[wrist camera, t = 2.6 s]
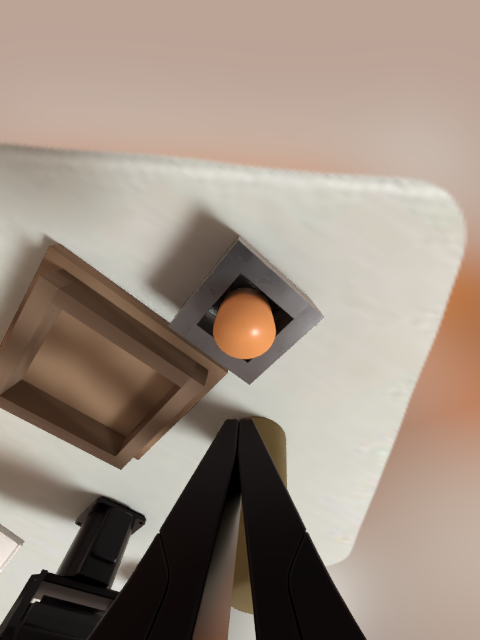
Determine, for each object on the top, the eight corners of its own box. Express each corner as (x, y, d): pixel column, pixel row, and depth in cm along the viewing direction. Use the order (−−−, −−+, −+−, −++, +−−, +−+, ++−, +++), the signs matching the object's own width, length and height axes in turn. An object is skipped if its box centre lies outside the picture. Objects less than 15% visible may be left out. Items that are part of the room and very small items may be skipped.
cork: (214, 426, 23) (188, 590, 13) (275, 410, 22) (297, 575, 12) (237, 465, 25) (230, 633, 15) (293, 453, 24) (325, 623, 14)
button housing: (249, 361, 20) (249, 384, 17) (180, 309, 18) (168, 326, 15) (312, 300, 18) (324, 317, 15) (239, 235, 16) (238, 239, 13)
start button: (247, 344, 18) (247, 369, 15) (208, 315, 17) (200, 334, 14) (282, 310, 16) (288, 330, 14) (242, 276, 15) (240, 289, 13)
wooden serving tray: (142, 450, 25) (129, 480, 22) (-5, 370, 21) (-42, 393, 18) (228, 365, 20) (225, 389, 17) (60, 244, 16) (23, 250, 14)
